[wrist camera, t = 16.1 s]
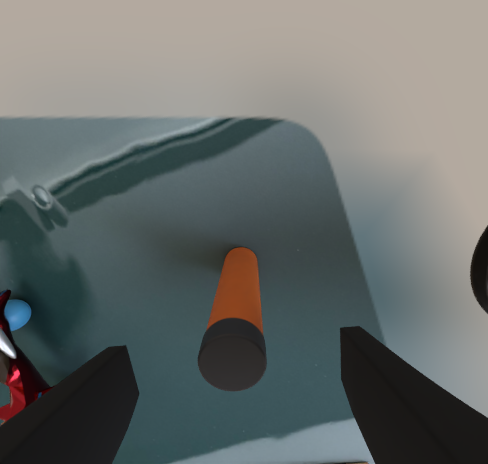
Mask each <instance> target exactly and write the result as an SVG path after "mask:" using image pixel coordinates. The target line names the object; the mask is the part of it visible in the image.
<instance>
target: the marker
mask: <svg viewBox="0 0 488 464" xmlns="http://www.w3.org/2000/svg"><path fill="white" fill-rule="evenodd" d="M266 365H267V359H266V347H265V340H264V337H263V327H262V314H261V301H260V288H259V275H258V262H257V257H256V255H255V254H254V253H253V252H252V251H251V250H250V249H248V248H244V247H238V248H234V249H232V250H231V251H230V252H229V253H228V254H227V255H226V258H225V261H224V265H223V269H222V273H221V277H220V280H219V284H218V288H217V292H216V296H215V299H214V303H213V307H212V311H211V315H210V319H209V322H208V326H207V330H206V332H205V334H204V337H203V340H202V343H201V347H200V351H199V355H198V366H199V370H200V372H201V374H202V376H203V377H204V379H205V380H206V381H207V382H208V383H210V384H211V385H212V386H214V387H216V388H218V389H221V390H225V391H241V390H245V389H248V388H250V387H252V386H253V385H255V384H256V383H257V382H258V381H259V380H260V379H261V378H262V376H263V374H264V372H265V370H266Z"/></svg>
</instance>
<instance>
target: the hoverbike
mask: <svg viewBox="0 0 488 464" xmlns="http://www.w3.org/2000/svg"><path fill="white" fill-rule="evenodd" d="M10 295H11V290H5V291H2V292H1V293H0V382H1V383H3V384H5V385H7V386H9V389H10V404H7V405H5V406H3V407H1V408H0V419H2V420H4V421H5V422H6V421H7V420H9V419H10V418H12V417H13V416H14V415H16V414H17V413H19V412H20V411H21V410H23V409H24V408H26V407H27V406H28V405H30V404H31V403H33V402H34V401H35V400H37V399H38V398H40V397H41V396H42V395H44V394H45V393H46V392H48V391H49V390H50V389H52V388H53V387H54V386H53V387H50V386H49V385H48V384H47V382H46V381H45V380H44V379H43V377H42V376H41V375H40V374H39V372H38V371H37V370H36V368H35V367H34V365H33V364H32V363H31V361H30V360H29V359H28V358H27V357H26V355H25V354H24V353H23V352H22V351H21V349H20V348H19V347H18V346H17V345H16V343H15V341H14V340H13V337H12V334H11V331H14V330H16V329H19V328H21V327H22V326H24V325H25V324H26V323H27V322H28V320H29V319H30V317H31V308H30V306H29V305H28V304H27V303H26V302H25V301H22V300H18V299H12V300H8V299H9V297H10ZM55 386H56V385H55ZM2 424H3V423H2ZM2 424H1V425H2Z"/></svg>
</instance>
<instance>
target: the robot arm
mask: <svg viewBox="0 0 488 464" xmlns="http://www.w3.org/2000/svg"><path fill="white" fill-rule="evenodd" d="M340 342H341V380H342V383H343V386H344V389H345V392H346V395H347V398H348V401H349V404H350V407H351V410H352V412H353V415H354V417H355V420H356V422H357V424H358V426H359V429H360V431H361V433H362V435H363V437H364V440H365V442H366V444H367V446H368V449H369V451H370V453H371V455H372V457H373V460H374V462H375V464H488V418H487V417H486V416H484V415H482V414H481V413H479V412H478V411H476V410H475V409H473V408H471V407H470V406H468V405H467V404H465V403H464V402H462V401H461V400H459V399H458V398H456V397H455V396H453V395H452V394H450V393H449V392H447V391H446V390H444V389H443V388H442V387H440V386H439V385H437V384H436V383H434V382H433V381H432V380H430V379H429V378H427V377H426V376H424V375H423V374H422V373H420V372H419V371H418V370H416V369H415V368H414V367H412V366H411V365H409V364H408V363H407V362H405V361H404V360H403V359H401V358H400V357H399V356H397V355H396V354H395V353H394V352H392V351H391V350H389V349H388V348H387V347H386V346H384V345H383V344H382V343H381V342H379V341H378V340H377V339H375V338H374V337H373V336H372V335H370V334H369V333H368V332H366V331H365V330H364V329H362V328H361V327H360V326H355V327H343V328H340ZM138 396H139V390H138V387H137V383H136V380H135V376H134V372H133V369H132V365H131V361H130V358H129V354H128V350H127V347H126V346H114V347H108V348H107V349H105V350H103V351H102V352H100V353H99V354H98V355H96V356H95V357H93V358H92V359H91V360H89V361H88V362H87V363H85V364H84V365H82V366H81V367H80V368H78V369H77V370H76V371H74V372H73V373H72V374H70V375H69V376H68V377H66V378H65V379H64V380H62V381H61V382H60V383H58V384H57V385H56V386H54V387H53V388H52V389H50V390H49V391H48V392H46V393H45V394H44V395H42V396H41V397H40V398H38V399H37V400H35V401H34V402H33V403H31V404H30V405H28V406H27V407H26V408H24V409H23V410H21V411H20V412H19V413H17V414H16V415H14V416H13V417H12V418H10V419H9V420H7V421H6V422H4V423H3V424H2V425H0V464H112V462H113V460H114V458H115V456H116V453H117V451H118V449H119V447H120V445H121V442H122V440H123V438H124V436H125V434H126V431H127V429H128V426H129V423H130V421H131V418H132V415H133V412H134V409H135V406H136V403H137V400H138Z"/></svg>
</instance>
